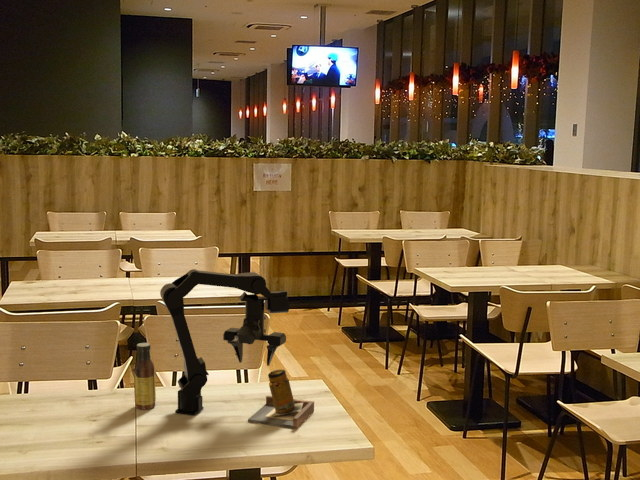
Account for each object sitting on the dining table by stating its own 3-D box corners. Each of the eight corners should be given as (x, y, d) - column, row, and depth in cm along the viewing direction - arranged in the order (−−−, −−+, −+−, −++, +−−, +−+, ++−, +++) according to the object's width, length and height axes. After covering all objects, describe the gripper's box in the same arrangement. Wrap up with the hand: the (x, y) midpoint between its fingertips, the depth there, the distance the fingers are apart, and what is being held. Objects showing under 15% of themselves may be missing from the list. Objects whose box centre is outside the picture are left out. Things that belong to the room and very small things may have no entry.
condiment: (276, 408, 240) (267, 370, 239) (303, 402, 239) (294, 365, 238) (273, 416, 233) (263, 378, 232) (301, 411, 232) (291, 372, 231)
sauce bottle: (142, 402, 246) (141, 340, 243) (159, 405, 244) (159, 342, 241) (130, 409, 240) (129, 345, 237) (147, 412, 238) (146, 347, 235)
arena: (248, 421, 231) (248, 412, 231) (267, 404, 246) (267, 395, 245) (297, 428, 227) (297, 418, 226) (314, 411, 241) (314, 401, 241)
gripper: (215, 317, 237) (215, 367, 239) (273, 323, 231) (273, 375, 234) (230, 309, 247) (230, 357, 250) (287, 314, 242) (286, 364, 244)
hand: (254, 363), depth 244 cm, fingers open, 9 cm apart
